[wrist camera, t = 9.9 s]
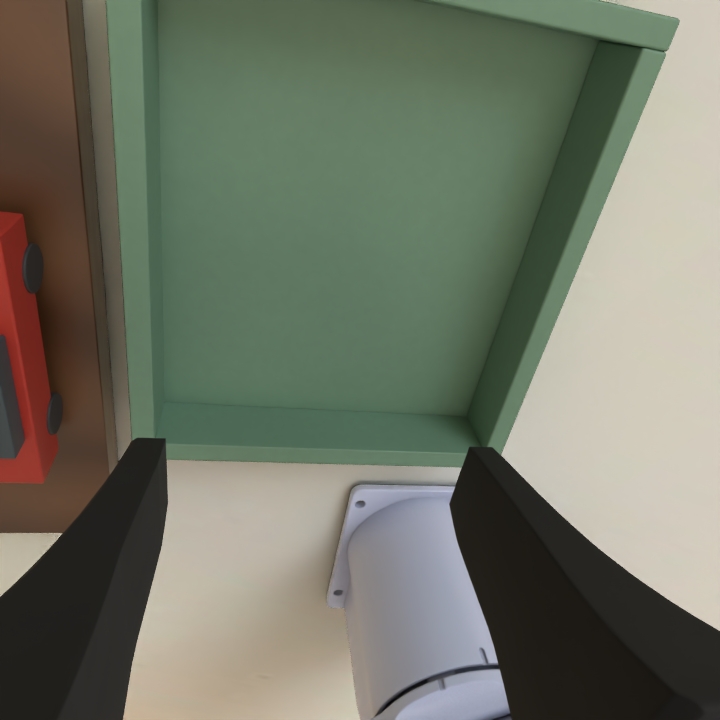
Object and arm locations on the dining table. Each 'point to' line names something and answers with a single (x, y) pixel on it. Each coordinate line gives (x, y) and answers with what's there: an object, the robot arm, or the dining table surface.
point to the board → (58, 249)
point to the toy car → (23, 363)
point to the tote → (358, 213)
